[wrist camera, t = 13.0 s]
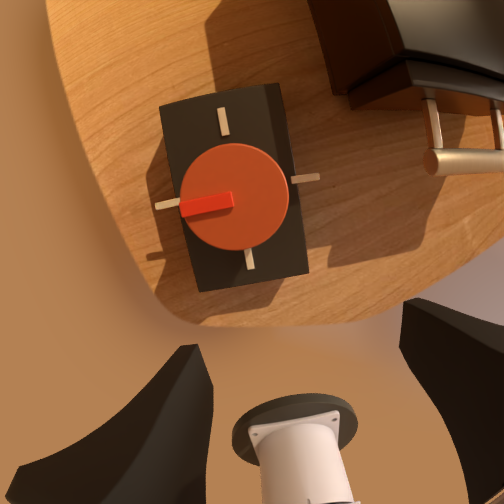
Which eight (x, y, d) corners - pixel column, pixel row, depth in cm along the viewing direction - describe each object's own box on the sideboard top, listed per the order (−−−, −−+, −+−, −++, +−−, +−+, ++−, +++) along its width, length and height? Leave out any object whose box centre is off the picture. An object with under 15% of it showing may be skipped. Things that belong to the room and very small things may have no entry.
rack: (482, 166, 15) (547, 177, 9) (360, 174, 15) (427, 185, 9) (423, -32, 10) (463, -63, 3) (297, -56, 10) (314, -111, 3)
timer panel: (315, 252, 18) (329, 270, 15) (189, 275, 18) (179, 297, 15) (290, 94, 15) (301, 79, 12) (155, 120, 15) (137, 111, 12)
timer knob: (269, 141, 13) (279, 133, 9) (283, 221, 14) (298, 242, 10) (187, 158, 13) (167, 156, 9) (204, 236, 14) (192, 262, 10)
